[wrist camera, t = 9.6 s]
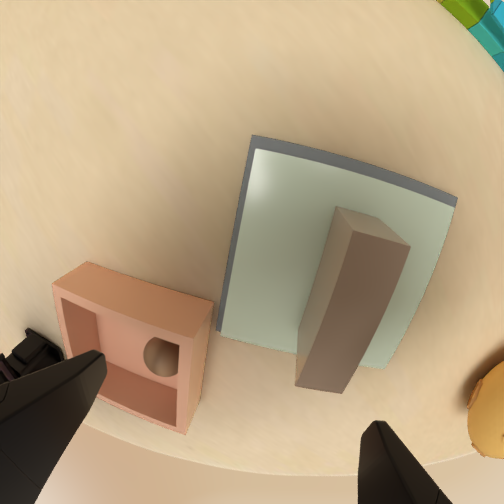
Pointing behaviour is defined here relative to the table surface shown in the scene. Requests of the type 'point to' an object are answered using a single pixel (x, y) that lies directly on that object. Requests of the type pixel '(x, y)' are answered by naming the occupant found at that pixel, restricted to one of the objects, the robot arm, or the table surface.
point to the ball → (161, 357)
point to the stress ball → (488, 414)
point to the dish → (136, 340)
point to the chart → (482, 23)
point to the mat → (323, 158)
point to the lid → (330, 266)
